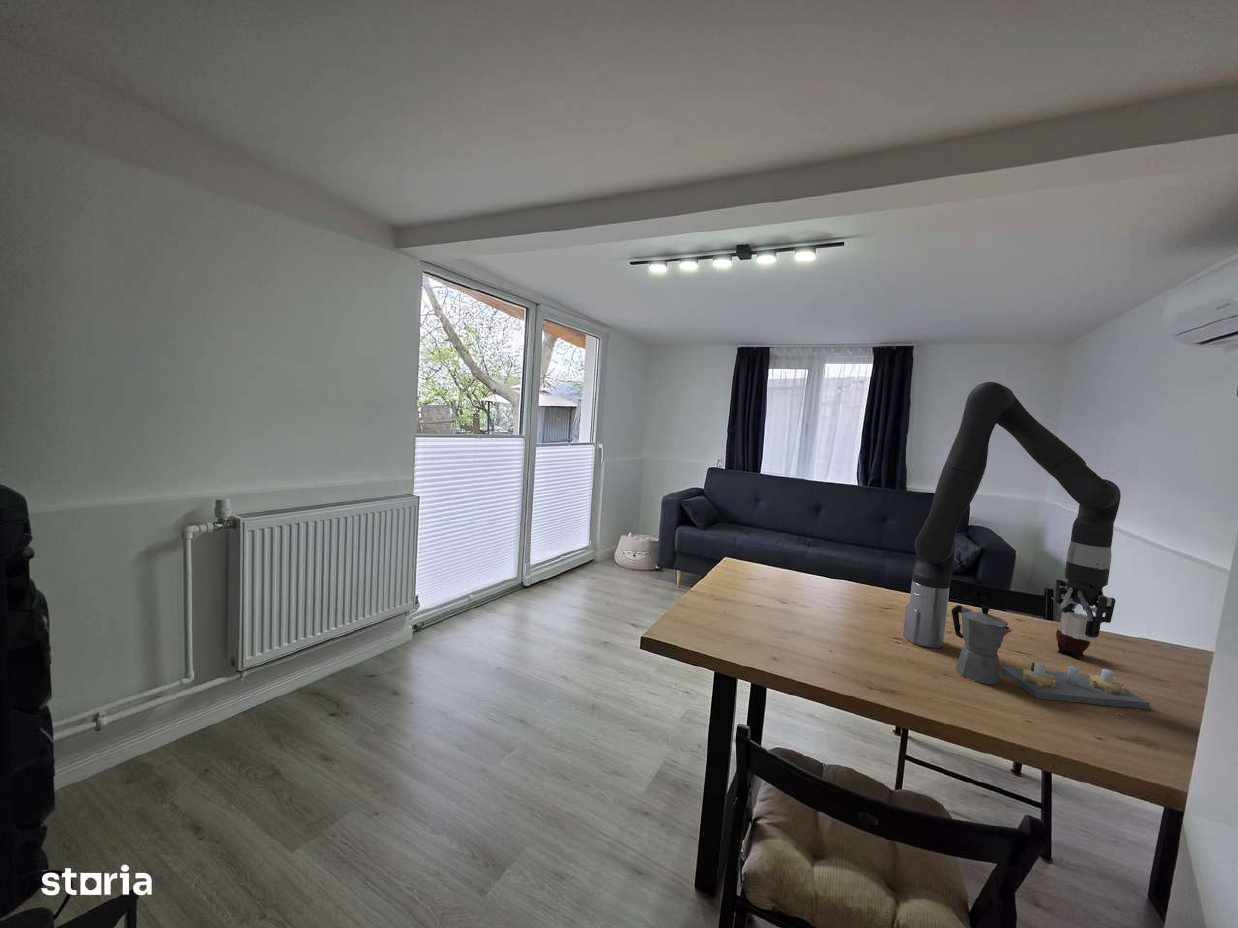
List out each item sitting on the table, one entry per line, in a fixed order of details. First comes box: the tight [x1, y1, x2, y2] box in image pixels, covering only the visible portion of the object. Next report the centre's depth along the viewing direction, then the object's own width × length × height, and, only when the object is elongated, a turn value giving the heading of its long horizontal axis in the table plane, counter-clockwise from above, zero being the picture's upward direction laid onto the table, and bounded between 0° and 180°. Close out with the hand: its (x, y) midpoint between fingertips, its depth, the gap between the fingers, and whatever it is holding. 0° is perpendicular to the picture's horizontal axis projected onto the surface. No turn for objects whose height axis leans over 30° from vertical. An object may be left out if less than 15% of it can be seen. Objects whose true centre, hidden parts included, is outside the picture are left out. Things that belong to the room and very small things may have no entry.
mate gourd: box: [1050, 596, 1091, 661], centre depth 139 cm, size 8×8×15 cm
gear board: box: [1001, 661, 1151, 710], centre depth 119 cm, size 24×12×6 cm, turn 85°
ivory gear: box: [1059, 611, 1099, 642], centre depth 118 cm, size 7×7×4 cm
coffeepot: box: [951, 604, 1012, 685], centre depth 124 cm, size 15×9×18 cm, turn 13°
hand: (1078, 630), depth 118 cm, fingers closed on ivory gear, 6 cm apart
